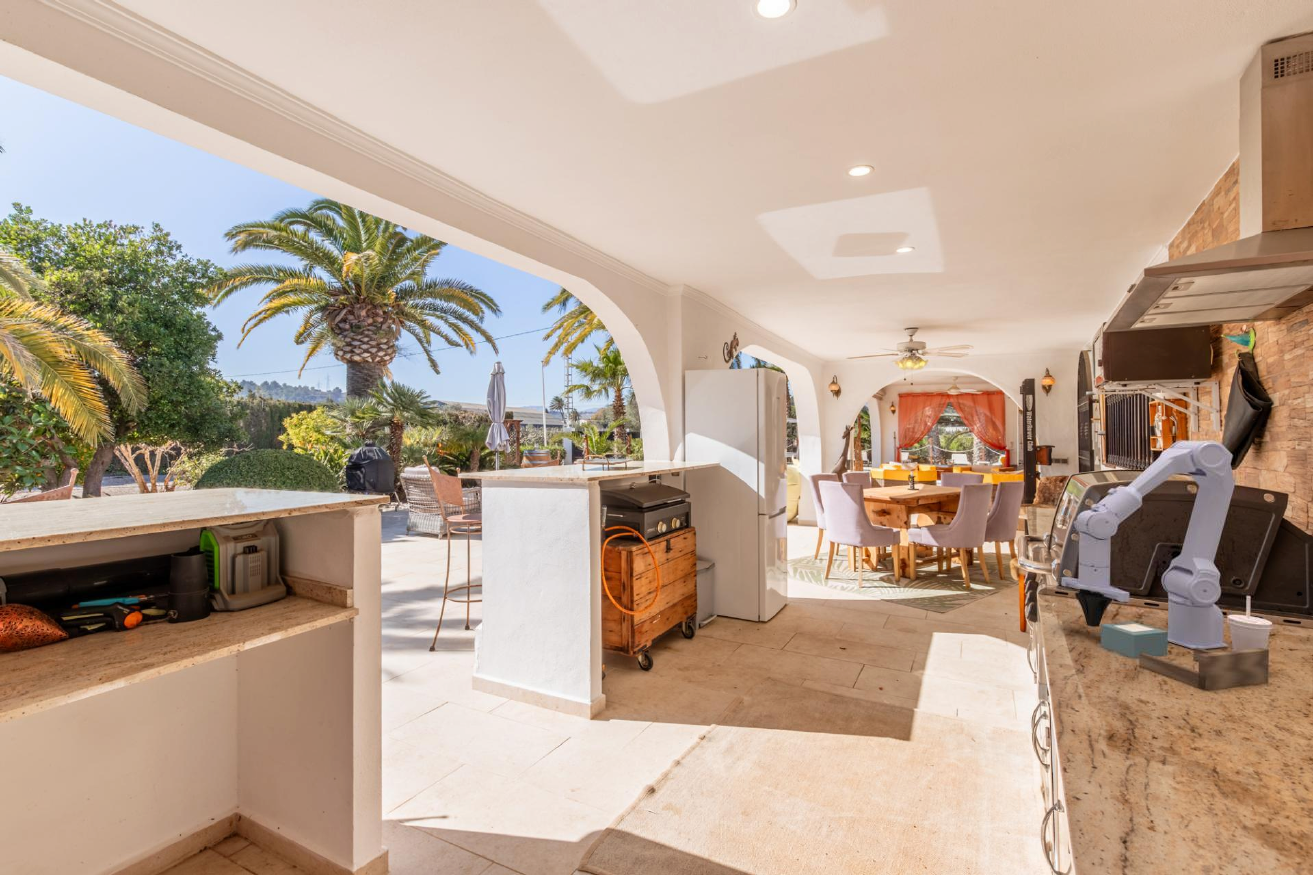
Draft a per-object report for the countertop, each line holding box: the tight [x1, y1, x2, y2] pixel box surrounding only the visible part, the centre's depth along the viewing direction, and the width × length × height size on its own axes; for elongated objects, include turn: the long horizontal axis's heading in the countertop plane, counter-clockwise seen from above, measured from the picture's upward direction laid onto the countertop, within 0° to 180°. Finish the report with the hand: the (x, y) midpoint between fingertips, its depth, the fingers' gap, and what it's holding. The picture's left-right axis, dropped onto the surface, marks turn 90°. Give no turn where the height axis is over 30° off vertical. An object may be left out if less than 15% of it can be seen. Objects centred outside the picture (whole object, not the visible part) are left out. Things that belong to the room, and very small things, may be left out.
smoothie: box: [1226, 595, 1274, 651], centre depth 119 cm, size 6×6×14 cm
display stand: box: [1138, 647, 1270, 691], centre depth 116 cm, size 15×12×6 cm
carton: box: [1100, 621, 1169, 660], centre depth 129 cm, size 9×7×5 cm
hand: (1093, 625), depth 138 cm, fingers closed
